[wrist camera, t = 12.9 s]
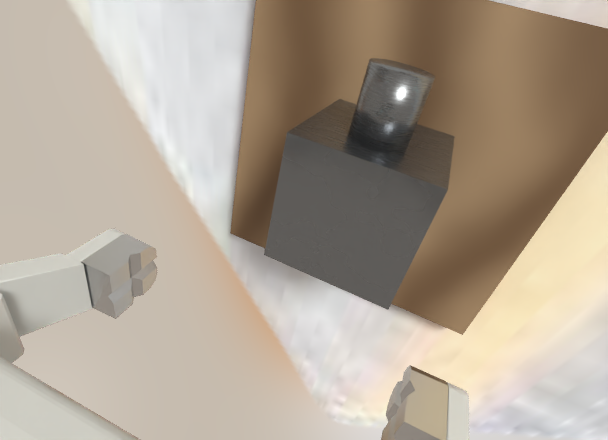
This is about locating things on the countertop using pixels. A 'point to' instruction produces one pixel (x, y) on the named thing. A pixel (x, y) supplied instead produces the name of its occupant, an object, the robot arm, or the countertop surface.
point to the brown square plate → (437, 122)
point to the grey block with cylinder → (362, 185)
